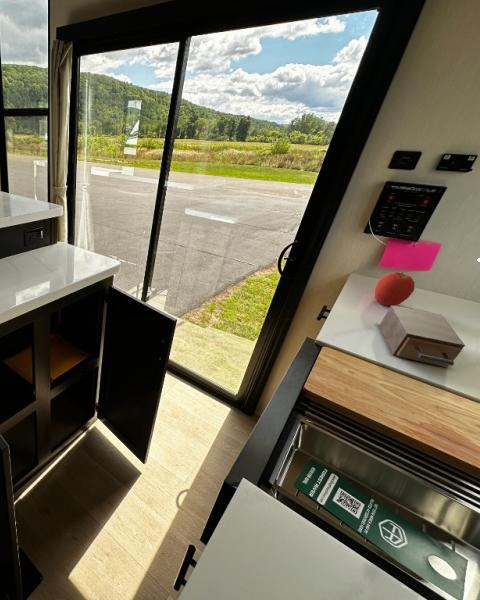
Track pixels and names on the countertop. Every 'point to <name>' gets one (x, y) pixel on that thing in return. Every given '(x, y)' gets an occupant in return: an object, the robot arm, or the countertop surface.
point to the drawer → (429, 351)
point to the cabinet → (416, 328)
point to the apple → (394, 289)
